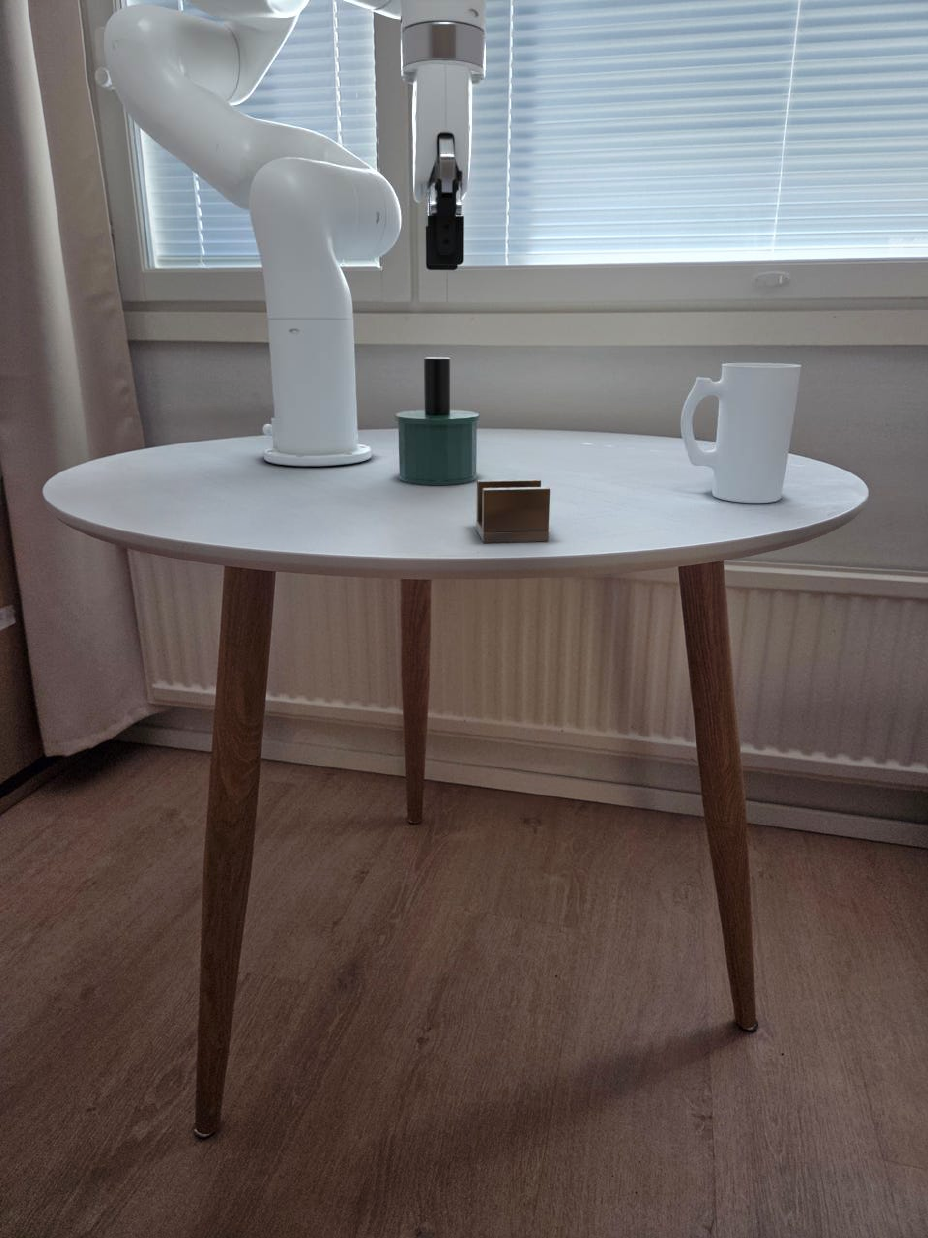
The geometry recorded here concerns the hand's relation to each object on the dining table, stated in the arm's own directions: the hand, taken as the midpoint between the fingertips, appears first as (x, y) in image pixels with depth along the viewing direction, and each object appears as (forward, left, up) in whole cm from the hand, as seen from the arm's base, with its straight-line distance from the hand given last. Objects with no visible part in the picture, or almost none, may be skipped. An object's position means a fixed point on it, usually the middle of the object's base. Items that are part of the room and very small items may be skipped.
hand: (443, 267), depth 81 cm
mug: (+26, +12, -21) cm, 35 cm away
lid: (-1, 0, -15) cm, 15 cm away
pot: (-1, 0, -21) cm, 21 cm away
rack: (+20, -14, -21) cm, 32 cm away
